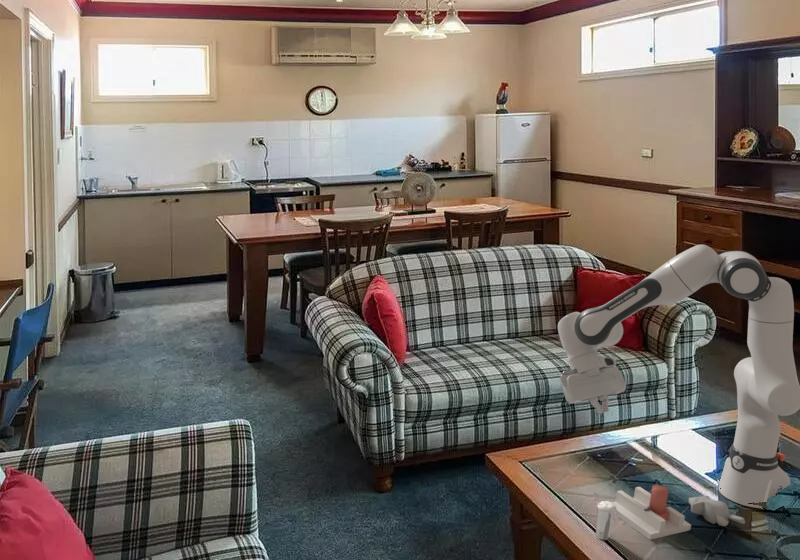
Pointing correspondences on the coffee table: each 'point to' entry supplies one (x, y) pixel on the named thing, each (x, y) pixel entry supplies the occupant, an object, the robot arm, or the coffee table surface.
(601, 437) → the coffee table surface
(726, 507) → the bunny figurine
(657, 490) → the red plug
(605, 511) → the milkshake
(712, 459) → the coffee table surface
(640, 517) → the white slider track base
